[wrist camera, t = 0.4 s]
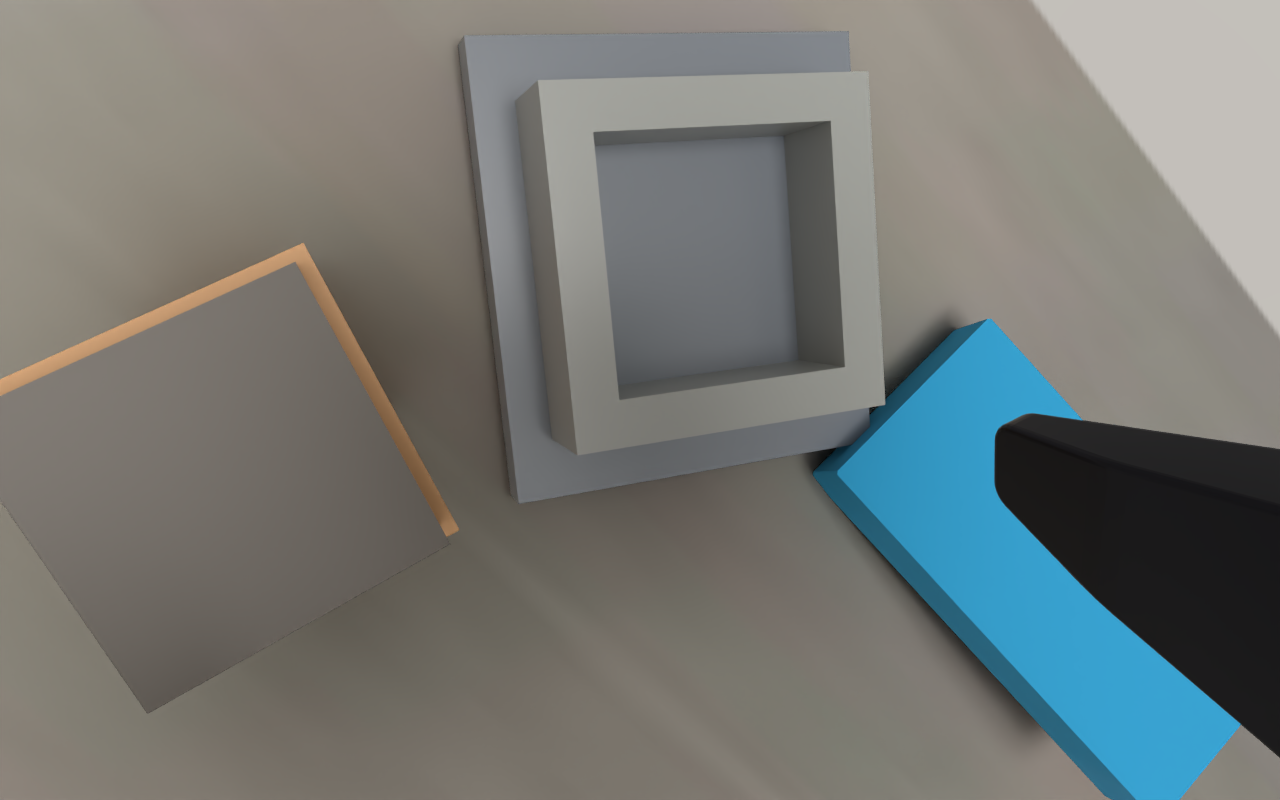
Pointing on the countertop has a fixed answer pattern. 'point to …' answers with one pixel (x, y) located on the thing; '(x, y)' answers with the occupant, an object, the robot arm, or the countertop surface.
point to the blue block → (1016, 572)
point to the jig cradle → (674, 250)
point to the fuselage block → (214, 475)
